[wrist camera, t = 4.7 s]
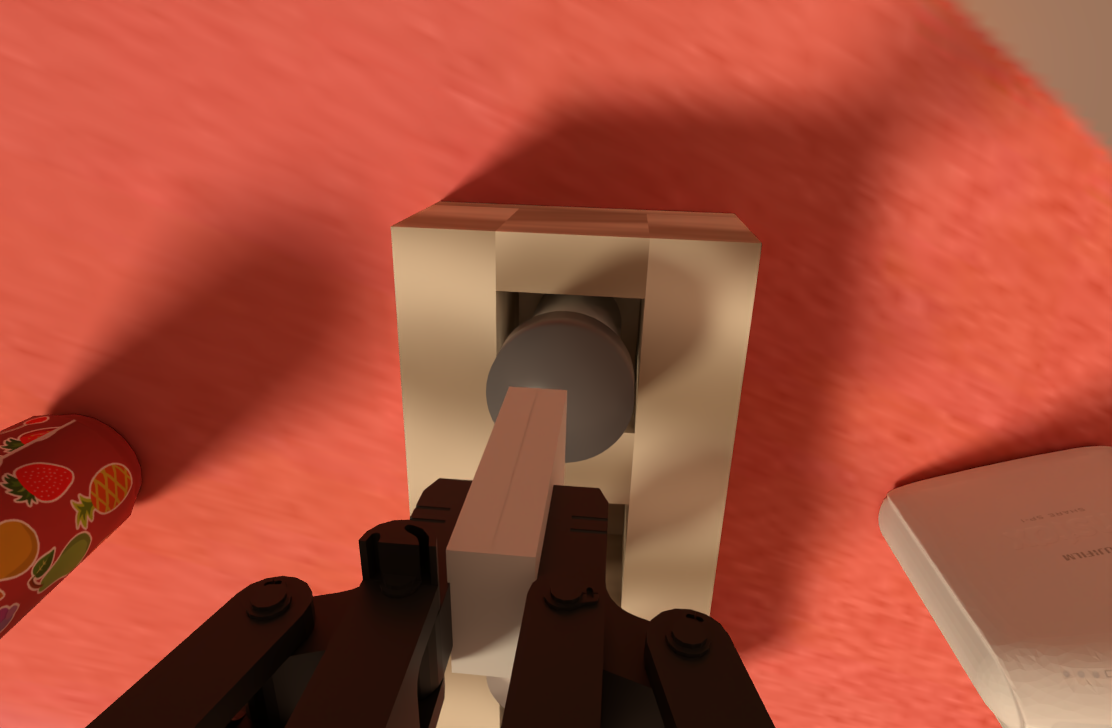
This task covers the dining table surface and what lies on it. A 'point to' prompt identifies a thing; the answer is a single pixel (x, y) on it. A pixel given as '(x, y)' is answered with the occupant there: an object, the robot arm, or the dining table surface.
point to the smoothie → (57, 502)
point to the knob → (571, 368)
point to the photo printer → (1018, 580)
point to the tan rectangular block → (658, 361)
